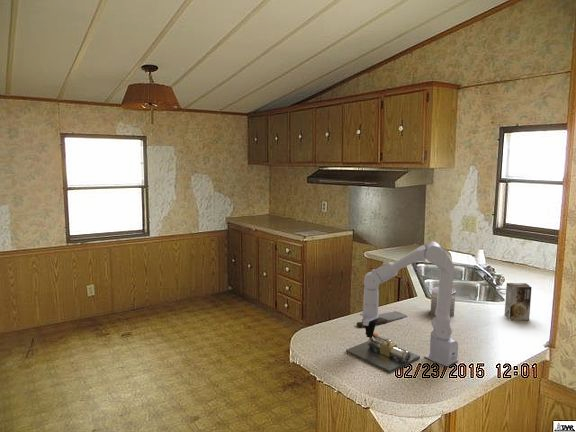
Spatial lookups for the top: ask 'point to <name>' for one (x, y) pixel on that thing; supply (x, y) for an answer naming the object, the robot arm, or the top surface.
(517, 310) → the coffee box
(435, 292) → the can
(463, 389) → the top surface
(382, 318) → the cleaver
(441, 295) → the robot arm
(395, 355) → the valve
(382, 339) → the lever
